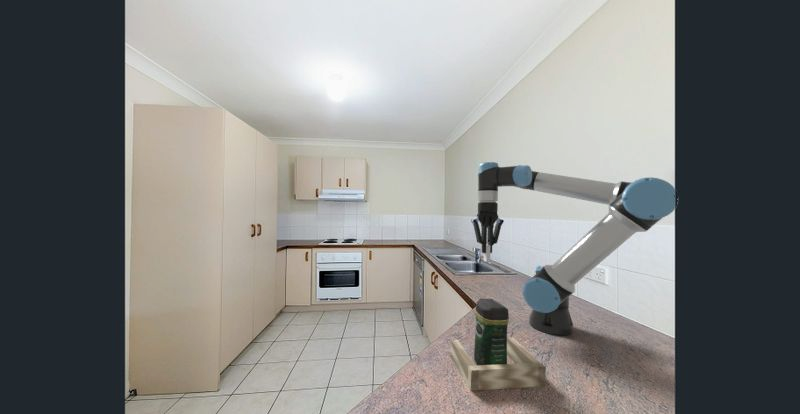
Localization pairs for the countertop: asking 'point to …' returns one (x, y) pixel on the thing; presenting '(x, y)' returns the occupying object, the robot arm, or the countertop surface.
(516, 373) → the u-shaped wooden molding
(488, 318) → the coffee jar
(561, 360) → the countertop surface
